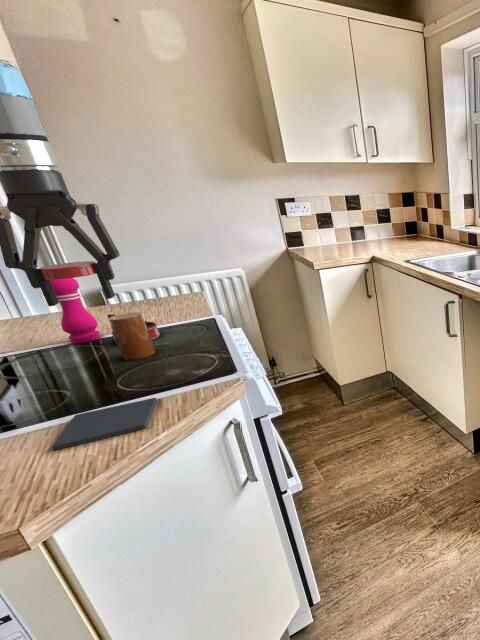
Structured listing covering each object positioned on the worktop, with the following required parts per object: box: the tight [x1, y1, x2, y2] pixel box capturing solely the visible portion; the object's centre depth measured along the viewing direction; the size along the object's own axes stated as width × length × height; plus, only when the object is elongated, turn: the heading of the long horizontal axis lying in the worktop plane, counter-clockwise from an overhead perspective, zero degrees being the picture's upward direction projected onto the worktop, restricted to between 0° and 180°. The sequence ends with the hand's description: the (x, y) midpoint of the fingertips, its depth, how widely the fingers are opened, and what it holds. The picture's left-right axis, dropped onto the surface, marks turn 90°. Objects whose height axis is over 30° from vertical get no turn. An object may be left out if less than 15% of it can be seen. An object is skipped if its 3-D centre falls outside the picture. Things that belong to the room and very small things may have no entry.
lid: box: [39, 260, 97, 280], centre depth 77 cm, size 7×7×2 cm
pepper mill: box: [50, 278, 102, 344], centre depth 117 cm, size 7×7×20 cm
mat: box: [51, 397, 158, 451], centre depth 77 cm, size 12×12×1 cm
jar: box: [108, 312, 156, 361], centre depth 106 cm, size 6×6×11 cm
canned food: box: [106, 313, 161, 345], centre depth 119 cm, size 11×10×10 cm
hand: (83, 300), depth 79 cm, fingers closed on lid, 7 cm apart
